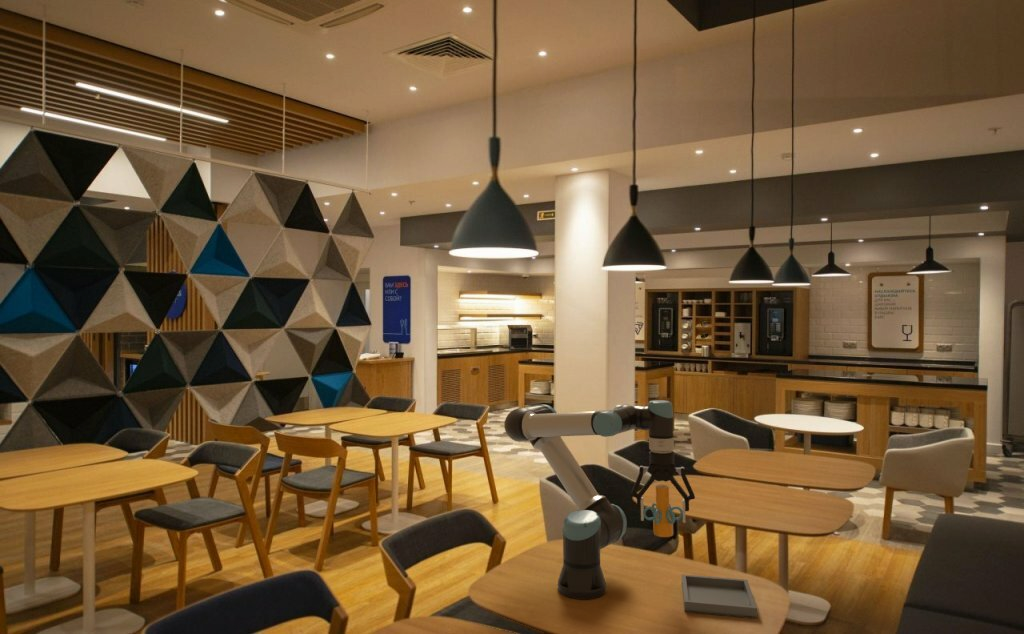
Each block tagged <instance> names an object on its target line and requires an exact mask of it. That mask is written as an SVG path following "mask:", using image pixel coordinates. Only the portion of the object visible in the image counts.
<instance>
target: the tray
mask: <svg viewBox="0 0 1024 634" xmlns="http://www.w3.org/2000/svg"><path fill="white" fill-rule="evenodd" d="M681 589H682V598H683V608H684V613H694V614H704V615H713V616H715V615H716V616H726V617H735V618H744V617H748V619H755V618H757V619H758V607H757V603H756V601H755V597H754V595H753V592H752V589H751V587H750V583H749V581H748V579H741V578H733V577H732V578H731V577H719V576H707V575H706V576H705V575H693V574H685V573H684V574H681Z"/></svg>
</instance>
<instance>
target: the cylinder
mask: <svg viewBox="0 0 1024 634" xmlns="http://www.w3.org/2000/svg"><path fill="white" fill-rule="evenodd" d="M648 510H651V512H652V515H653V516H652V517H648V516H647V514H646V513H647V511H648ZM674 510H678V511H679V516H678V517H677V516H675V515H676V514H675V513H674ZM643 516H644V519H646V520H647V521H652V523H653V527H652V528H653V535H654V536H656V537H659V538H669V537H673V536H674V523H676V521H679V520H681V519H683V508H681V507H679V506H677V505H675V506H672V505H671V504H670V486H669V485H668V484H663V483H662V484H656V485H655V502H653V503H652V504H651V506H647V507H644V511H643Z"/></svg>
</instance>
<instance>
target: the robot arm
mask: <svg viewBox="0 0 1024 634" xmlns="http://www.w3.org/2000/svg"><path fill="white" fill-rule="evenodd" d="M673 406H674V405H673V404H672V402H671V401H669V400H663V399H662V400H660V399H658V400H656V399H655V400H650V401H649V402H648V404H647V406H646V405H645V406H644V405H643V406H642V405H634V404H633V405H632V404H631V405H630V404H627V403H625V404H616V406H614V408H613V409H606V410H603V409H602V410H592V411H591V410H590V411H588V410H586V411H569V412H558V411H556V409H555V408H553V407H552V406H550V405H548V404H533V405H529V406H525V407H524V406H523V407H519V408H515V409H513V410H511V411H510V412H509V413H508V414H507V415H506V417H505V420H504V431H505V433H506V435H507V436H508V438H509V439H511V440H513V441H514V442H519V443H520V442H527V441H529V442H530V444H531V446H532V447H533V448H534V449H535V450H540V452H541V454H542V455H543V457H544V458H545V460H546V461H547V463H548V464H549V466H550V468H552V470H553V472H554V474H555V475H556V477H557V478H558V480H559V482H560V483H561V485H562V486H563V488H564V489H565V491H566V492H567V494H568V496H569V497H570V499H571V500H572V502H573V503H574V505H575V507H576V508H577V510H575V511H572V512H570V513H568V514H566V515H565V517H564V520H563V526H562V537H563V538H562V543H563V544H562V548H563V549H562V553H563V554H562V555H563V556H562V557H563V559H562V560H563V562H562V568H561V570H560V573H559V576H558V580H557V590H558V592H559V593H560V594H562V595H564V597H568V598H569V599H570V598H571V599H575V600H593V599H597V598H600V597H602V596H604V595H605V594H606V592H607V583H606V582H607V581H606V579H605V574H604V572H603V570H602V566H601V550H602V549H605V548H606V547H608V546H609V545H611V544H614V543H617V541H619V540H620V539H621V538H622V537H623V536H624V535H625V533H626V531H627V524H628V523H627V517H626V514H625V512H624V511H623V509H622V508H621V507H620V506H618V505H616V504H614V503H610V501H609V500H608V498H607V497H606V496H605V495H602V494H601V495H600V493H598V492H597V490H596V488H595V486H594V485H593V484H592V482H591V481H590V479H589V478H588V476H587V474H586V473H585V471H584V470H583V468H582V467H581V465H580V464H579V463H578V460H576V458H575V457H574V455H573V454H572V452H571V450H570V448H568V446H567V445H566V442H565V441H564V440H563V438H562V437H575V436H576V437H578V436H579V437H580V436H601V437H614V436H615V435H619V434H621V433H626V432H629V431H632V430H637V431H638V430H640V431H648V449H649V450H650V451H649V452H648V453H649V454H648V455H649V456H648V458H649V465H648V466H644V465H640V466H639V470H638V471H639V472H638V475H637V478H636V480H635V483H634V485H633V487H632V489H631V493H630V497H632V498H635V499H636V508H637V510H640V521H643V522H644V521H645V520H644V519H645V517H644V516H643V511H644V509H645V507H644V497H643V496H644V495H645V493H646V492H647V490H648V489H649V488H650V486H652V484H653V483H654V481H657V482H669V481H670V483H671V484H672V485H673V487H675V489H676V491H677V492H678V493H679V495H680V496H681V497H682V500H681V501H682V502H681V503H682V511H683V516H682V523H683V524H685V523H687V521H686V512H689V511H690V501H691V500H695V498H696V495H695V493H694V491H693V489H692V486H691V484H690V482H689V479H688V478H687V475H686V471H685V467H684V466H680V467H676V466H675V452H674V449H675V438H674V437H675V436H674V417H675V416H674V411H673V410H674V409H673ZM647 472H648V473H649V474H650V477H649V478H648V479H647V481H646V482H645V484H644V485H643V486H642V488H641V489H640V490H639V491H638V489H639V487H640V483H641V482H642V479H643V477H644V474H646V473H647ZM675 473H678V475H679V476H681V479H682V481H683V484H684V486H685V488H686V491H687V492H688V493H687V492H686V491H685V490H684V488H683V487H682V486H681V485H680V483H679V482H678V480H677V479H676V477H675V476H674V475H675ZM637 491H638V492H637Z"/></svg>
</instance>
